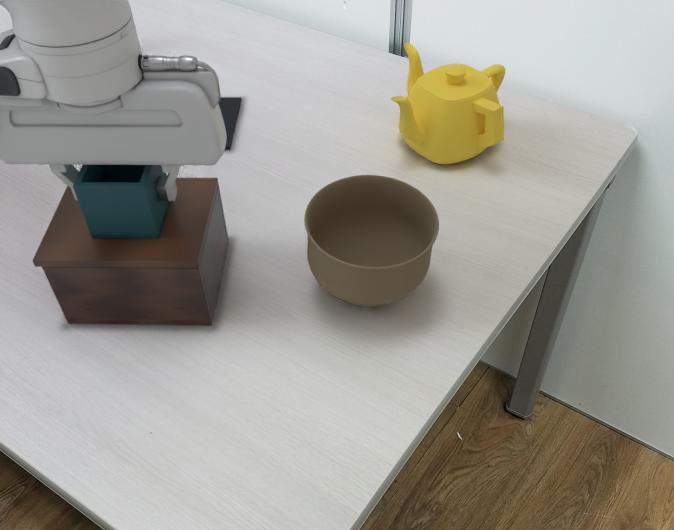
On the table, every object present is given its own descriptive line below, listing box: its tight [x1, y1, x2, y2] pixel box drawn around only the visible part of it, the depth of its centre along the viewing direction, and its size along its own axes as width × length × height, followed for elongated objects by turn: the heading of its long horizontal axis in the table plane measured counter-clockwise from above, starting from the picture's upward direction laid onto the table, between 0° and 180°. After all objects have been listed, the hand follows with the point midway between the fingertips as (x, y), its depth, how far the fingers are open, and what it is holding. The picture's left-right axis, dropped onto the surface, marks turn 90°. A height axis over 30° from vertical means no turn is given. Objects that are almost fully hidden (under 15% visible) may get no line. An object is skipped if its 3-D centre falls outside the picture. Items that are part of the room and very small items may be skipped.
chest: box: [41, 184, 230, 326], centre depth 71 cm, size 15×13×8 cm
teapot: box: [390, 42, 506, 165], centre depth 86 cm, size 14×13×10 cm
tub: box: [73, 165, 170, 239], centre depth 65 cm, size 6×6×6 cm
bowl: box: [303, 174, 440, 307], centre depth 69 cm, size 13×13×10 cm
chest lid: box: [32, 177, 220, 268], centre depth 68 cm, size 15×13×1 cm
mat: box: [218, 96, 243, 151], centre depth 94 cm, size 14×12×1 cm
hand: (127, 197), depth 66 cm, fingers closed on tub, 6 cm apart
